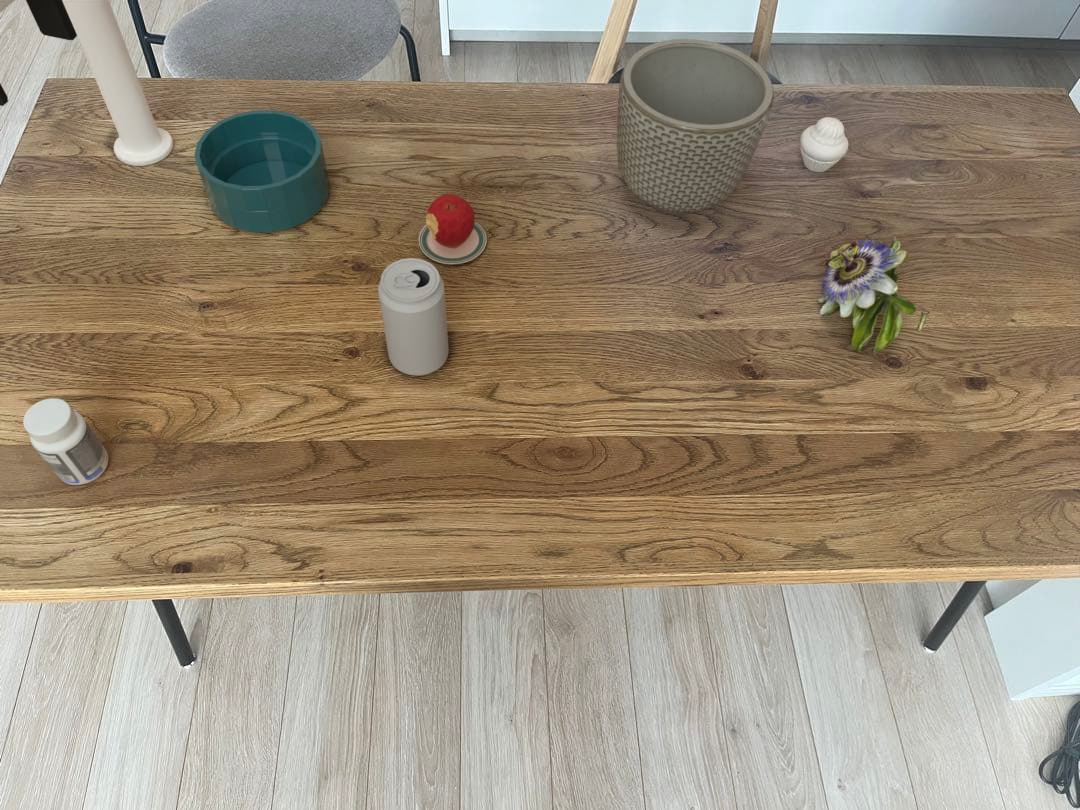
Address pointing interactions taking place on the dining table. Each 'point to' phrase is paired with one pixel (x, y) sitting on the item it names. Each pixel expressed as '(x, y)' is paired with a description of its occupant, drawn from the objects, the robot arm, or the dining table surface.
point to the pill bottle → (65, 441)
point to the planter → (689, 122)
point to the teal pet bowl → (263, 170)
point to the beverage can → (414, 316)
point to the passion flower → (867, 290)
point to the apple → (451, 231)
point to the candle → (118, 83)
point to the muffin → (823, 144)
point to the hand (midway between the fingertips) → (26, 67)
